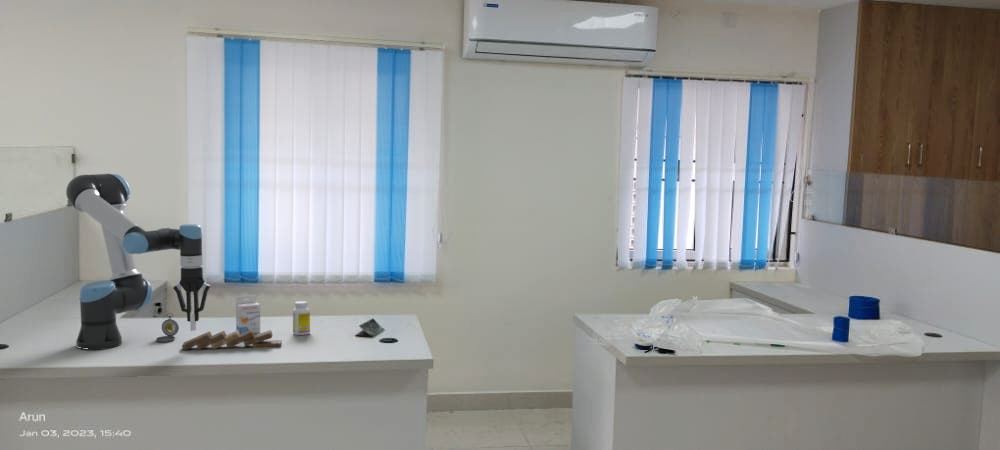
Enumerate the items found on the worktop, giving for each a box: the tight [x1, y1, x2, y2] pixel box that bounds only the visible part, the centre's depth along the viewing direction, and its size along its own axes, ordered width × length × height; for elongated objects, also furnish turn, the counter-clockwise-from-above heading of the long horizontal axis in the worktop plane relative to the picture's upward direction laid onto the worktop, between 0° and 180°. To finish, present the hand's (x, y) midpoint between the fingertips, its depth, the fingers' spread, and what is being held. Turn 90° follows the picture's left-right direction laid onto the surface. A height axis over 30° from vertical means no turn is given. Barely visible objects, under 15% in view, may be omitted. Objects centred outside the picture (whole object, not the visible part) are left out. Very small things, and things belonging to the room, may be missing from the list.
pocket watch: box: [155, 312, 180, 343], centre depth 304 cm, size 8×8×10 cm
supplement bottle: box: [292, 300, 311, 336], centre depth 317 cm, size 7×7×13 cm
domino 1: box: [181, 330, 213, 351], centre depth 292 cm, size 2×5×10 cm
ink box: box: [235, 294, 261, 334], centre depth 317 cm, size 8×5×15 cm, turn 123°
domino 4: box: [242, 329, 273, 347], centre depth 297 cm, size 2×5×10 cm
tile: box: [210, 330, 240, 350], centre depth 294 cm, size 2×5×10 cm
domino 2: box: [196, 330, 227, 351], centre depth 293 cm, size 2×5×10 cm
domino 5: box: [252, 339, 283, 349], centre depth 297 cm, size 2×5×10 cm
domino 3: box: [225, 329, 256, 349], centre depth 296 cm, size 2×5×10 cm
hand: (193, 329), depth 291 cm, fingers closed
